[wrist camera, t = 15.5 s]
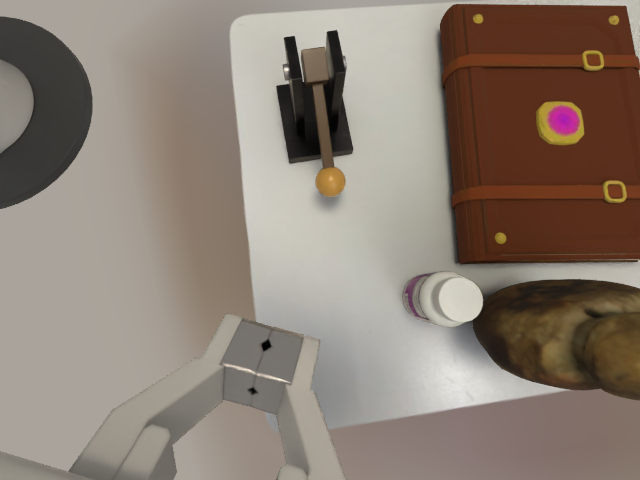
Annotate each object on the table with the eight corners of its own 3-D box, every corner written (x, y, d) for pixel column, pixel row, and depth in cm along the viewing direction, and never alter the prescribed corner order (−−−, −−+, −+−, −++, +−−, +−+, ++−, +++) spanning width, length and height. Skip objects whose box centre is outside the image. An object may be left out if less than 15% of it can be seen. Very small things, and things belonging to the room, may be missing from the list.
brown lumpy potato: (451, 363, 36) (617, 451, 17) (438, 289, 38) (578, 289, 18) (563, 349, 37) (853, 418, 17) (547, 276, 38) (800, 262, 18)
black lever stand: (352, 153, 40) (368, 97, 28) (289, 163, 40) (279, 110, 28) (337, 82, 42) (347, 1, 30) (277, 91, 41) (263, 12, 29)
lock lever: (344, 192, 36) (349, 196, 33) (316, 197, 36) (319, 201, 32) (326, 54, 32) (330, 44, 29) (295, 59, 32) (296, 49, 29)
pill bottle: (452, 285, 38) (500, 283, 28) (438, 327, 37) (481, 340, 27) (410, 267, 38) (443, 260, 28) (394, 309, 37) (423, 316, 28)
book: (597, 33, 44) (634, 0, 39) (636, 261, 39) (683, 257, 34) (433, 32, 43) (449, -2, 38) (452, 263, 38) (472, 259, 33)
